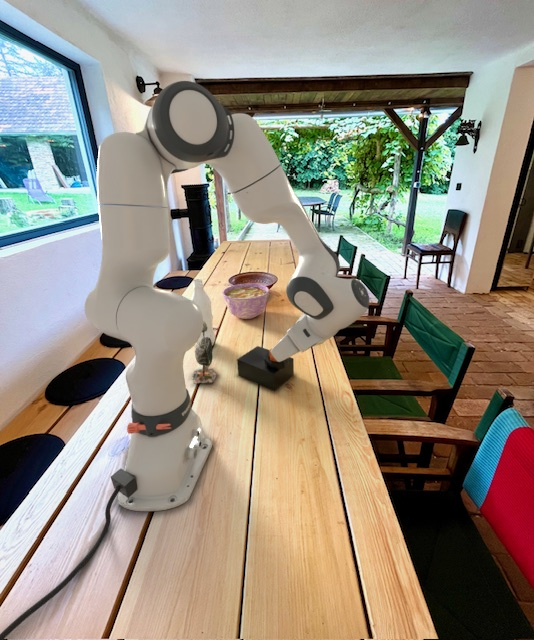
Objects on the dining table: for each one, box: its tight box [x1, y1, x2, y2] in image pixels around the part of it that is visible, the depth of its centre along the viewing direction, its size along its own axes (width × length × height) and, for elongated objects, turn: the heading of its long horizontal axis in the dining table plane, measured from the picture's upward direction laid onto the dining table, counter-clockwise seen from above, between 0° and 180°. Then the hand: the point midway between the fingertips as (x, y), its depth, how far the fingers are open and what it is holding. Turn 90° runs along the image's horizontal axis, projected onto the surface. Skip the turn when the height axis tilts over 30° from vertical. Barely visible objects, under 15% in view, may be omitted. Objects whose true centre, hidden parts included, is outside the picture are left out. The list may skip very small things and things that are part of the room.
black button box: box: [236, 345, 295, 392], centre depth 98 cm, size 15×10×8 cm
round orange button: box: [269, 348, 278, 362], centre depth 93 cm, size 4×4×2 cm
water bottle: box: [190, 278, 216, 347], centre depth 114 cm, size 7×7×25 cm
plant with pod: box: [191, 321, 218, 385], centre depth 97 cm, size 8×11×20 cm
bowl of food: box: [222, 283, 270, 320], centre depth 140 cm, size 20×20×12 cm
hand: (284, 349), depth 91 cm, fingers closed
